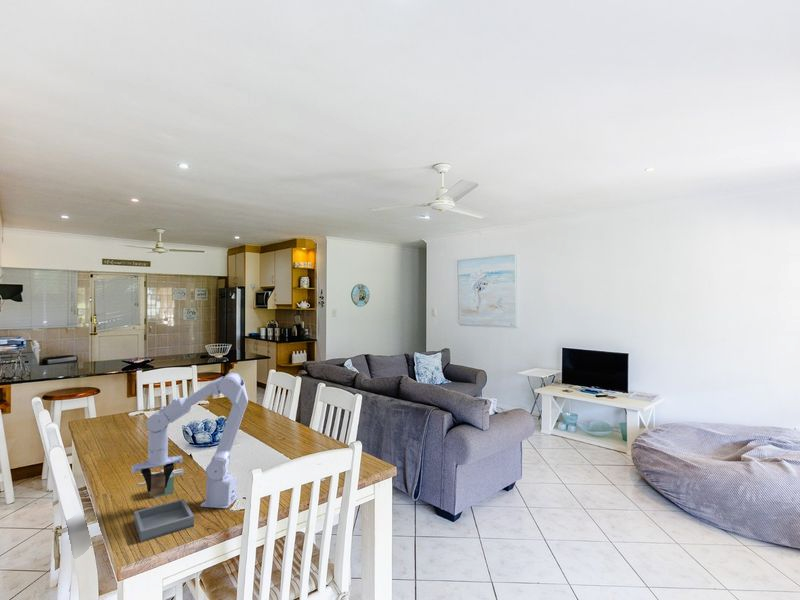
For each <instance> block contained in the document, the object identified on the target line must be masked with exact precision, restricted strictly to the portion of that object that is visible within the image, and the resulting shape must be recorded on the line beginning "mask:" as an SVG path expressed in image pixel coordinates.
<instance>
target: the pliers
mask: <svg viewBox="0 0 800 600" xmlns="http://www.w3.org/2000/svg"><path fill="white" fill-rule="evenodd" d="M160 472H161V471H158V472H157V471H155V472H154V471H153V472H151V474H155V473H160ZM172 475H173V476H174V477H177V476H183V475H184V468H179V469H174V470H173V471H172ZM142 476H143V475H142V473H141V474H139V477H142ZM143 477H144V476H143ZM142 485H146V481H143V482H139V483H137V486H142Z"/></svg>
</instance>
